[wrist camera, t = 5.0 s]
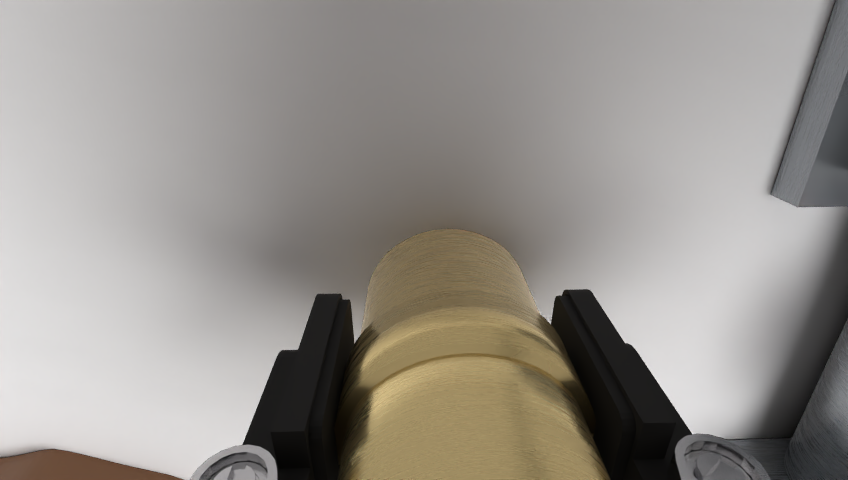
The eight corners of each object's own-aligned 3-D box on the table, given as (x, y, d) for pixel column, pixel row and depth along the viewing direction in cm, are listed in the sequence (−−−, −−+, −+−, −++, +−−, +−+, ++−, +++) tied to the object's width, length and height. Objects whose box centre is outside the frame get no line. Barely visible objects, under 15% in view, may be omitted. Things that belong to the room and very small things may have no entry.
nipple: (354, 223, 12) (258, 562, 4) (542, 220, 12) (751, 549, 4) (365, 369, 14) (313, 759, 6) (524, 366, 14) (647, 747, 7)
